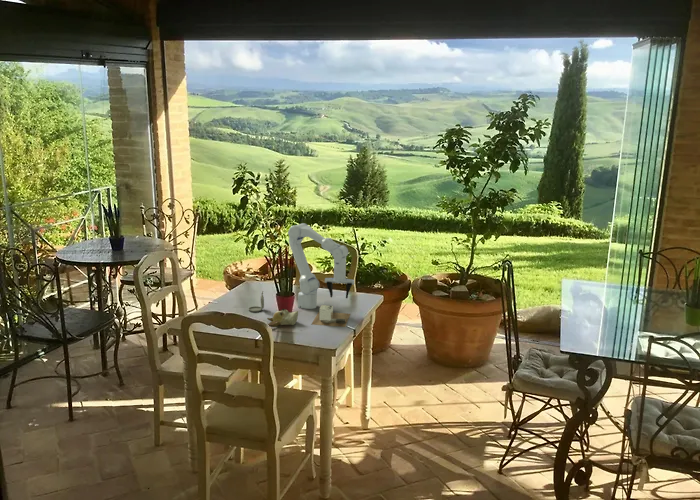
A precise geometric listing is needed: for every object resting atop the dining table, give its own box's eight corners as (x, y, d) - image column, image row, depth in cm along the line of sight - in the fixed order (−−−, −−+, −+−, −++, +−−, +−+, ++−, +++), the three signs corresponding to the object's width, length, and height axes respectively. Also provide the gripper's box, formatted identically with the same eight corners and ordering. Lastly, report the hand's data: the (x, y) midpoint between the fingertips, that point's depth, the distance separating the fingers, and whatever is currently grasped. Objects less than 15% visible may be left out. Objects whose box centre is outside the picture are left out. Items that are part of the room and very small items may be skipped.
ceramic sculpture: (297, 311, 265) (264, 313, 264) (298, 329, 267) (266, 331, 266) (298, 304, 275) (266, 306, 274) (298, 321, 277) (267, 323, 276)
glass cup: (245, 310, 292) (245, 291, 289) (259, 306, 298) (259, 287, 295) (256, 314, 286) (256, 294, 284) (269, 310, 292) (269, 291, 290)
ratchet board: (311, 327, 270) (311, 316, 269) (318, 314, 289) (318, 303, 287) (345, 330, 268) (345, 318, 267) (350, 316, 287) (350, 306, 286)
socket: (319, 319, 272) (319, 308, 271) (321, 316, 277) (321, 305, 276) (330, 320, 271) (331, 309, 270) (332, 316, 277) (332, 305, 275)
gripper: (323, 271, 280) (323, 298, 283) (353, 273, 278) (352, 300, 281) (326, 268, 287) (325, 294, 290) (355, 270, 285) (354, 296, 288)
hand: (339, 297), depth 286 cm, fingers open, 7 cm apart
